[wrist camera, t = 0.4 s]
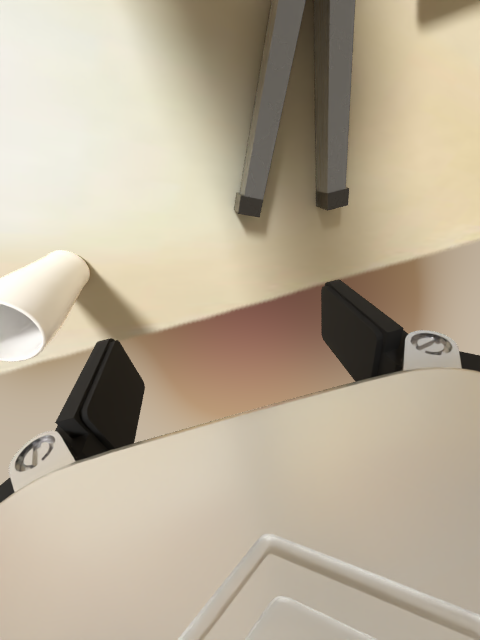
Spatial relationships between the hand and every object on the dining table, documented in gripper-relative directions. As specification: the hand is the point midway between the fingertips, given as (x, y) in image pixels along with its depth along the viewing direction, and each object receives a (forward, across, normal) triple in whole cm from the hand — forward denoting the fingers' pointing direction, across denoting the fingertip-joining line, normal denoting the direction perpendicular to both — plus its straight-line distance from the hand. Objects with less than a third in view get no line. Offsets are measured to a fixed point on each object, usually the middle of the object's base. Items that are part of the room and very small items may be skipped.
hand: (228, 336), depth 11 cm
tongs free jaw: (+26, -10, -10) cm, 29 cm away
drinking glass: (+26, +19, +2) cm, 33 cm away
